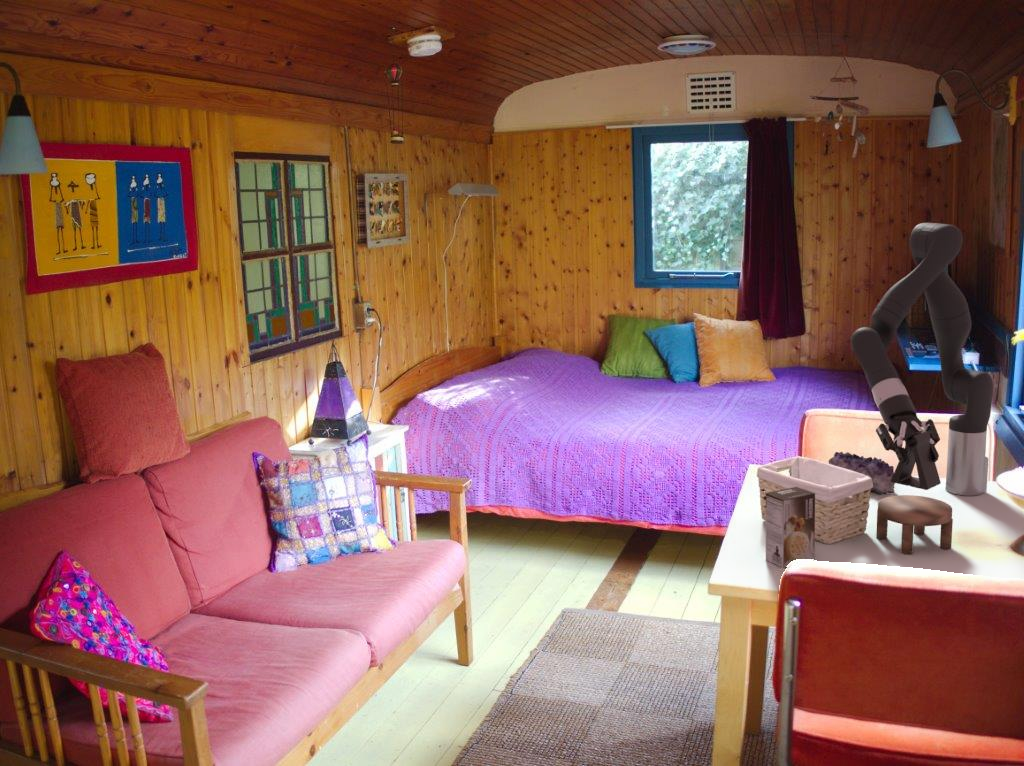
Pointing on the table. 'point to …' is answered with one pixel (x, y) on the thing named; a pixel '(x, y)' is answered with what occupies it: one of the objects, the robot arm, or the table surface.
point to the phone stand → (917, 463)
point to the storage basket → (822, 494)
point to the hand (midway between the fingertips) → (921, 462)
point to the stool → (914, 518)
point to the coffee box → (790, 525)
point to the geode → (867, 470)
